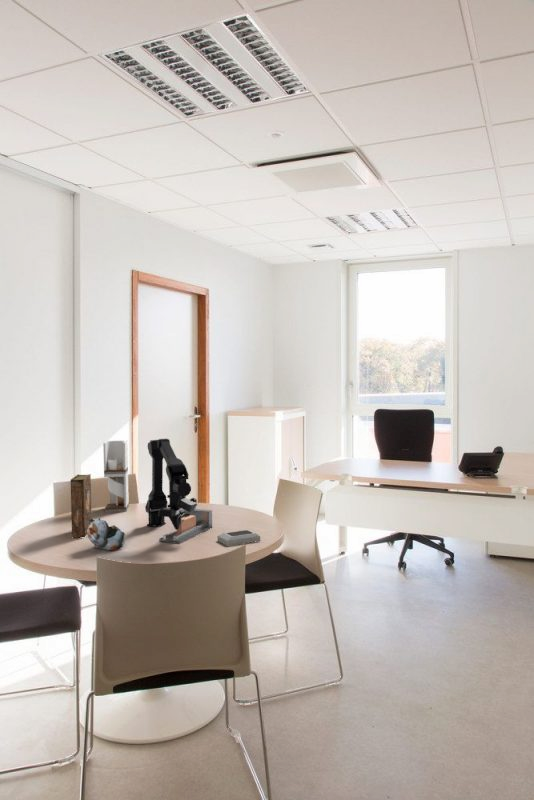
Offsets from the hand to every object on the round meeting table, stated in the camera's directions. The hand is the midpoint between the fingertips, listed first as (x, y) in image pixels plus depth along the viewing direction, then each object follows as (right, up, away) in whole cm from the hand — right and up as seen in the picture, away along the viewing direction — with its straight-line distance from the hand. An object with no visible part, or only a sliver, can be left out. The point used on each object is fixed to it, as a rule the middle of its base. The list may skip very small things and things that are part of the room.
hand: (176, 529), depth 265 cm
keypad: (+26, -5, -4) cm, 27 cm away
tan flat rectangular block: (+3, -3, +7) cm, 8 cm away
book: (-43, -4, +11) cm, 45 cm away
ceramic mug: (-3, -2, +48) cm, 48 cm away
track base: (+3, -4, +8) cm, 9 cm away
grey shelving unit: (-40, -2, +61) cm, 72 cm away
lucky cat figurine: (-26, -5, -13) cm, 29 cm away
